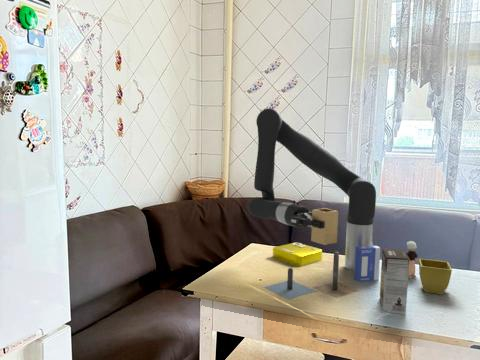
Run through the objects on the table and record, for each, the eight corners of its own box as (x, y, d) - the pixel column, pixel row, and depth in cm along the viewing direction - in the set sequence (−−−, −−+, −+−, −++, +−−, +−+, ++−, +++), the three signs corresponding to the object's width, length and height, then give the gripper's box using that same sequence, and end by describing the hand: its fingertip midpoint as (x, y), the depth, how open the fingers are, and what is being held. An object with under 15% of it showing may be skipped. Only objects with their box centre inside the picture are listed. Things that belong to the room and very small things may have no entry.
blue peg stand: (290, 280, 140) (291, 260, 139) (317, 292, 131) (317, 269, 130) (263, 288, 133) (263, 266, 132) (288, 300, 124) (289, 277, 123)
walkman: (358, 282, 140) (359, 247, 138) (354, 279, 142) (355, 245, 141) (379, 281, 141) (381, 246, 140) (375, 278, 144) (377, 244, 143)
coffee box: (378, 299, 126) (381, 247, 124) (401, 301, 124) (404, 249, 122) (382, 312, 117) (386, 256, 115) (407, 314, 115) (410, 258, 114)
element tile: (270, 258, 167) (270, 246, 166) (295, 251, 176) (296, 240, 176) (298, 267, 155) (299, 255, 155) (324, 260, 165) (324, 248, 165)
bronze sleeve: (323, 238, 134) (324, 208, 133) (336, 242, 130) (338, 210, 129) (311, 240, 131) (312, 209, 130) (324, 245, 127) (326, 212, 126)
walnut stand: (333, 282, 139) (334, 246, 138) (357, 291, 131) (359, 253, 130) (312, 288, 134) (313, 250, 132) (336, 298, 126) (338, 258, 124)
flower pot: (446, 288, 136) (448, 261, 135) (450, 298, 128) (452, 269, 127) (417, 284, 139) (418, 258, 138) (419, 294, 131) (420, 266, 130)
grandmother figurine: (408, 272, 151) (410, 238, 149) (419, 275, 148) (421, 240, 146) (399, 277, 145) (401, 242, 144) (410, 280, 142) (412, 244, 141)
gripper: (276, 205, 137) (313, 214, 124) (307, 201, 146) (345, 209, 132) (275, 227, 138) (312, 239, 124) (306, 223, 146) (344, 233, 133)
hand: (329, 224), depth 128 cm, fingers closed on bronze sleeve, 5 cm apart
